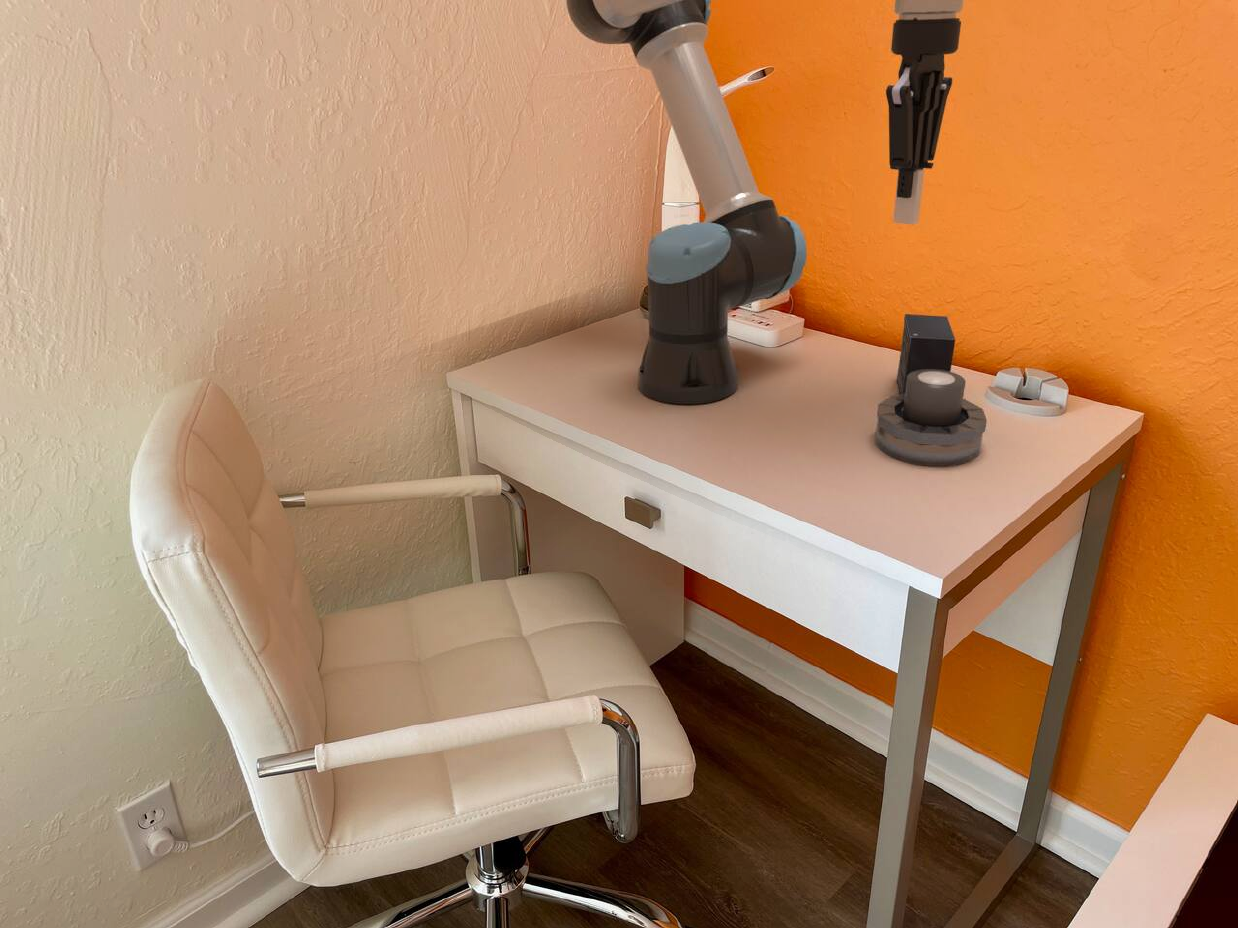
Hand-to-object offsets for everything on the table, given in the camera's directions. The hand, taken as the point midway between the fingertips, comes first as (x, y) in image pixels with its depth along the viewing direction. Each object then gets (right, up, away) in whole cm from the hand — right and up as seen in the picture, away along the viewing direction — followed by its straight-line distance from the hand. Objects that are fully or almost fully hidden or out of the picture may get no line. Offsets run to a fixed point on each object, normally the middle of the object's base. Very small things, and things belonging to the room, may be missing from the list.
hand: (905, 222), depth 117 cm
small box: (+8, -21, +17) cm, 28 cm away
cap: (+4, -26, +1) cm, 26 cm away
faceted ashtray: (+4, -28, +3) cm, 29 cm away
